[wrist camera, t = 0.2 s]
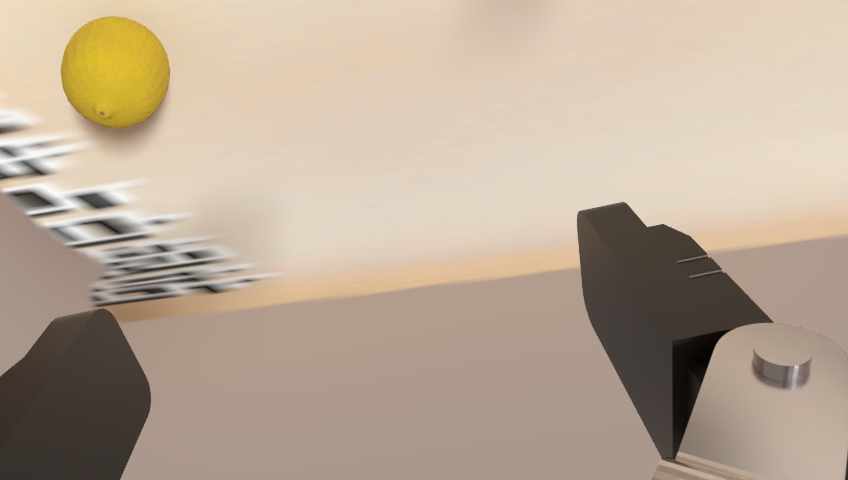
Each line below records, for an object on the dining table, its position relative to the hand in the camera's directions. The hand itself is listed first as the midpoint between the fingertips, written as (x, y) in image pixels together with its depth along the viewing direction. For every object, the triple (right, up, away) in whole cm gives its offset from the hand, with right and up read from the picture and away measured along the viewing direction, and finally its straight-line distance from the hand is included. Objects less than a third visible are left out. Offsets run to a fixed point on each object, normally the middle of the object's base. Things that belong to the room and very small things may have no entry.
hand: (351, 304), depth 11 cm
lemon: (-17, +14, +28) cm, 36 cm away
